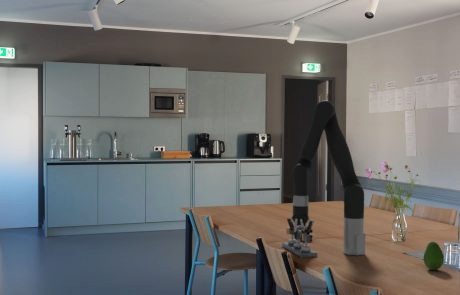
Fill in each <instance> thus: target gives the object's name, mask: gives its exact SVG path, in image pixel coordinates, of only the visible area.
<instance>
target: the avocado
mask: <svg viewBox="0 0 460 295" xmlns="http://www.w3.org/2000/svg"><path fill="white" fill-rule="evenodd" d="M425 248H426V249H425V251H424V253H423V262H424V265H425V267H426V268H427V269H428V270H431V271H435V270H439V269H440V268H441V267H442V266H443V264H444V262H445V261H444V260H445V256H444V253H443V251H442V248H441V247H440V245H439V243H437V242H435V241H430V242H429V243H428V244H427V246H426V247H425Z"/></svg>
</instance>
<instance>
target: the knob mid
mask: <svg viewBox="0 0 460 295" xmlns="http://www.w3.org/2000/svg"><path fill="white" fill-rule="evenodd" d="M301 231H302V230H298V231H297V239H298V240H297V242H298V243H295V244H294V247H297V248H301V247H302V246H305V242H304V243H303V242H301Z"/></svg>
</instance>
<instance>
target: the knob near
mask: <svg viewBox="0 0 460 295" xmlns="http://www.w3.org/2000/svg"><path fill="white" fill-rule="evenodd" d="M302 240H303V241H302ZM301 241H302V242H304V246H302V247H301V251H311V249H312V248H311V246H308V243H311V241H310V236H309V235H307V234H302V239H301Z"/></svg>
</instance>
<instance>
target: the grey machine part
mask: <svg viewBox="0 0 460 295" xmlns="http://www.w3.org/2000/svg"><path fill="white" fill-rule="evenodd" d="M307 227H308V226H306V229H307ZM298 229H299V230H302V228H301V226H300V225H299V228H298ZM313 232H314V231H313V229H312V228H311V230H310V231H309V232H306V234H307V235H309V236H310V242H312V241H313V234H312V233H313ZM302 233H303V232H302V231H301V238H300V240H302Z"/></svg>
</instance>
